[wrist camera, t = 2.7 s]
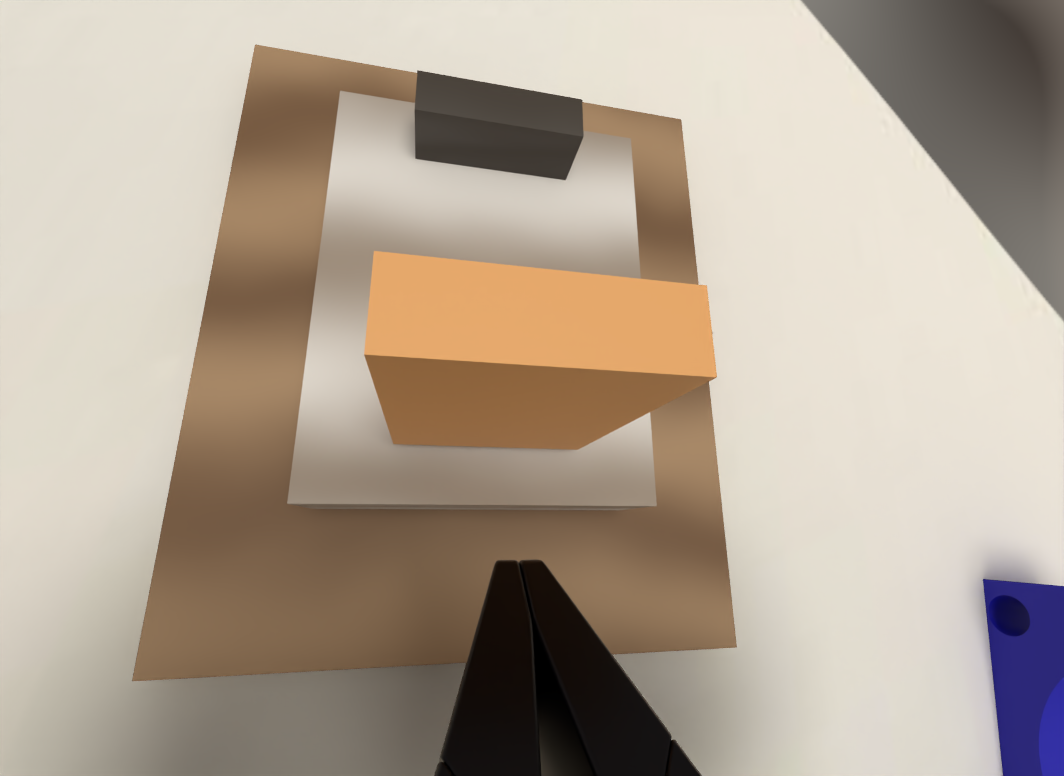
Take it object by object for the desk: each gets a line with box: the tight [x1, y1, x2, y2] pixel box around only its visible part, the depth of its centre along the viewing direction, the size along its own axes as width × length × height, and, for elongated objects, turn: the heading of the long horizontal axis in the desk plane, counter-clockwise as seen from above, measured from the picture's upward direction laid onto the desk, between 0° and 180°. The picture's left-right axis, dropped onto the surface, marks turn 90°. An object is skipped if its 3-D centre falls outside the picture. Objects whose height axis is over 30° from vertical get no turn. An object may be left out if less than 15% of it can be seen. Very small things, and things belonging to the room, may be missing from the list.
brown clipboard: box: [132, 45, 737, 681], centre depth 16 cm, size 22×18×6 cm
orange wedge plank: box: [364, 251, 717, 450], centre depth 10 cm, size 7×5×2 cm
